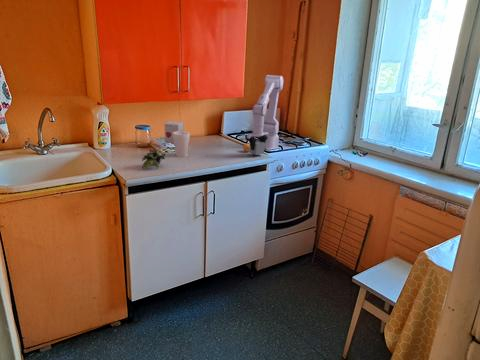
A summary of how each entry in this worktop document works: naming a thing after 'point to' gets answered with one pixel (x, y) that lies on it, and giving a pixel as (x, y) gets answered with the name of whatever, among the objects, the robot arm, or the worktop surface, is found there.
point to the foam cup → (181, 142)
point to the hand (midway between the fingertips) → (257, 148)
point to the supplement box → (172, 130)
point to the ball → (246, 147)
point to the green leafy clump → (153, 158)
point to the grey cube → (258, 148)
